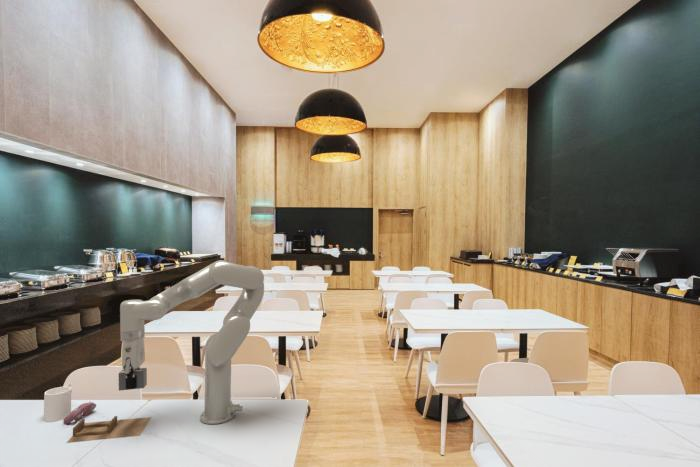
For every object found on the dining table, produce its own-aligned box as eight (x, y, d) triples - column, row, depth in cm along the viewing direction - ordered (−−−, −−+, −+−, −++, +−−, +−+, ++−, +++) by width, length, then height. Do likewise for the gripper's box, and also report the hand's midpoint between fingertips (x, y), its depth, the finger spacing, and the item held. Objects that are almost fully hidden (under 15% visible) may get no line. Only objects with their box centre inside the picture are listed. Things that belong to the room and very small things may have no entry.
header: (151, 419, 143) (151, 408, 143) (139, 438, 129) (140, 426, 129) (85, 425, 138) (85, 414, 138) (65, 445, 124) (66, 433, 124)
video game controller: (70, 429, 138) (77, 413, 138) (60, 423, 139) (68, 406, 138) (93, 417, 148) (100, 402, 147) (84, 411, 149) (91, 395, 148)
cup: (81, 407, 153) (82, 382, 153) (61, 421, 141) (62, 394, 141) (59, 408, 152) (60, 383, 152) (38, 422, 140) (38, 395, 140)
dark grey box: (146, 384, 138) (146, 367, 138) (143, 388, 135) (143, 370, 135) (122, 386, 136) (122, 369, 136) (118, 390, 133) (118, 372, 133)
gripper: (136, 339, 129) (137, 394, 128) (150, 328, 145) (151, 377, 145) (112, 341, 127) (112, 396, 127) (128, 330, 143) (129, 379, 143)
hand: (133, 385), depth 136 cm, fingers closed on dark grey box, 3 cm apart
